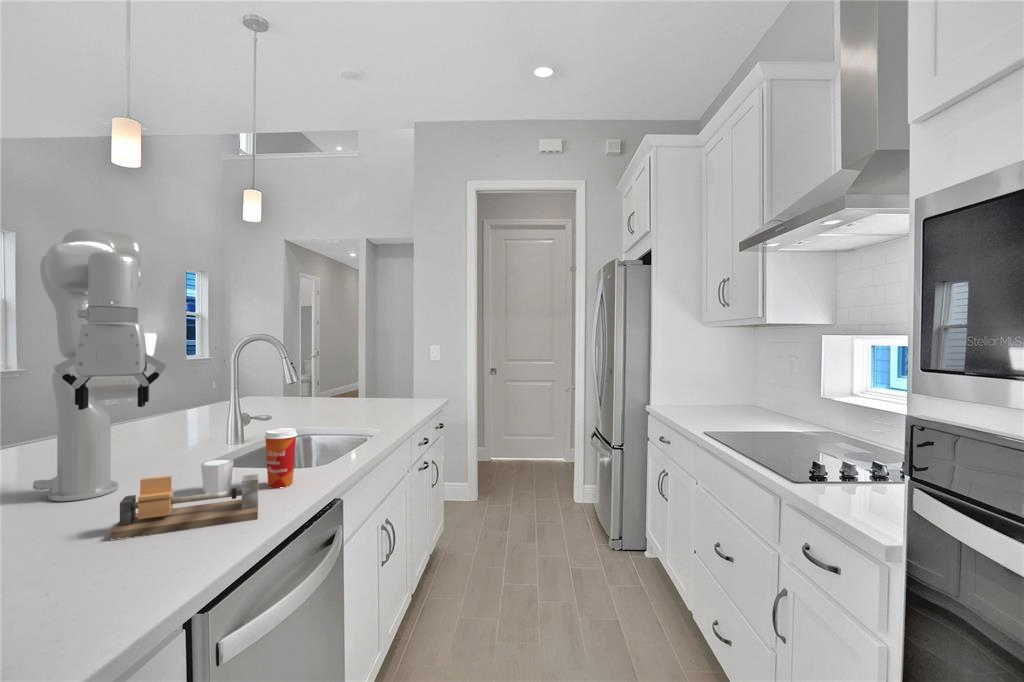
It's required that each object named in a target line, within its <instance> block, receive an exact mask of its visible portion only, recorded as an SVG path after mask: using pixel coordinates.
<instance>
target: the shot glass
mask: <svg viewBox="0 0 1024 682" xmlns="http://www.w3.org/2000/svg"><path fill="white" fill-rule="evenodd" d="M200 469H201V477H202V479H201V480H202V487H203V494H205V493H209V494H210V493H218V492H224V491H227V490H229V489H230V488H231V489H232V480H233V470H234V460H233V459H228V458H224V459H223V458H220V459H212V460H207V461H205V462H201V464H200ZM231 489H230V490H231ZM230 490H229V491H230Z"/></svg>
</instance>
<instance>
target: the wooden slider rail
mask: <svg viewBox="0 0 1024 682" xmlns="http://www.w3.org/2000/svg"><path fill="white" fill-rule="evenodd" d="M240 496H241V498H240V499H237V497H240ZM224 498H225V499H226V498H231V500H228V501H220V502H219V501H218V502H212V503H203V504H202V503H201V504H196V505H195V504H194V505H188V506H180V507H173V509H172V511H171V513H170V515H166V516H158V517H151V518H143V519H138V512H137V511H136V510H138V501H136V500H137V494H131V495H126V496H124V497H123V499H122V500H121V501H120V502H119V521H118V523H117V524H116V525H115V526H114V528H113V529H112V530H111V532H110V540H111V539H118V538H125V539H127V538H126V537H132V538H136V537H135V536H139V537H144V536H143V535H146V536H150V535H151V534H152V535H157V534H158V533H159V534H165V533H164V532H166V533H172V531H173V532H177V531H179V532H180V531H184V530H185V529H186V530H191V529H190V528H193V529H198V527H200V528H206V526H207V527H212V526H220V525H225V524H226V523H227V524H232V523H233V522H234V523H239V522H240V521H241V522H246V521H253V520H258V518H259V517H258V516H259V512H258V511H259V474H258V473H257V474H248V475H242V478H241V489H237V487H233V488H232V487H231V490H229V491H226V492H218V493H210V494H205V493H201V494H195V495H185V496H179V497H178V496H177V497H173V498H171V504H173V505H177V504H184V503H193V502H199V501H208V500H217V499H224ZM241 522H240V523H241ZM219 524H220V525H219ZM118 540H119V539H118Z"/></svg>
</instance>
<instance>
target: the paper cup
mask: <svg viewBox="0 0 1024 682" xmlns="http://www.w3.org/2000/svg"><path fill="white" fill-rule="evenodd" d="M297 436H298V433H297V430H296V428H291V427H289V428H288V427H282V428H281V427H279V428H275V429H270V430H266V432H265V435H264V436H263V438H265V452H266V453H265V456H266V457H265V458H266V471H267V484H268V488H270V487H271V488H270V489H281V488H280V487H284V488H287V487H286V486H288V487H290V485H291V484H292V485H293V481H294V472H295V471H294V467H295V457H296V456H295V454H296V443H297V442H296V441H297V440H296V439H297ZM292 485H291V486H292Z"/></svg>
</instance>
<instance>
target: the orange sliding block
mask: <svg viewBox="0 0 1024 682" xmlns="http://www.w3.org/2000/svg"><path fill="white" fill-rule="evenodd" d="M139 486H140V487H139V496H138V497H137V498H138V499H137V502H138V509H137V510H138V511H137V513H138V519H143V518H151V517H158V516H166V515H170V513H171V511H172V509H173V508H174V504H171V498H174V487H173V475H164V476H155V477H145V478H141V479H140V481H139Z"/></svg>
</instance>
